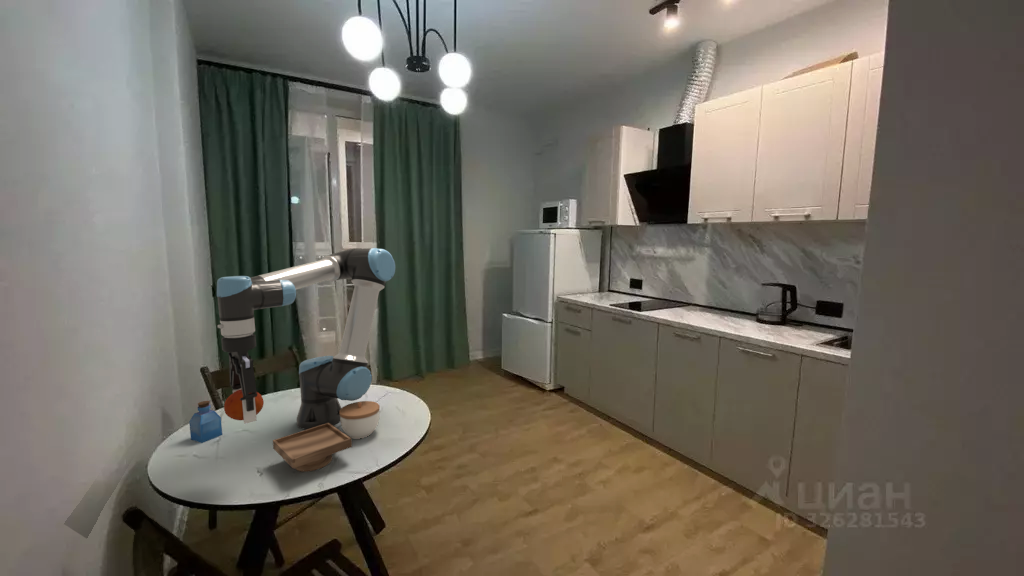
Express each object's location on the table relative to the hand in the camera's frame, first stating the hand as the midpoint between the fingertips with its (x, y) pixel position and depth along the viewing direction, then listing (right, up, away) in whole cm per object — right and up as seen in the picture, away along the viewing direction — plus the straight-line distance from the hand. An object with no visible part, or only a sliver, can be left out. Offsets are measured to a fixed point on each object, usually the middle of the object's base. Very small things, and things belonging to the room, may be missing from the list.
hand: (245, 416), depth 110 cm
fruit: (0, 0, 0) cm, 1 cm away
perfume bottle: (-30, -15, +26) cm, 42 cm away
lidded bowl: (+21, -15, +27) cm, 37 cm away
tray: (+14, -16, +9) cm, 23 cm away
